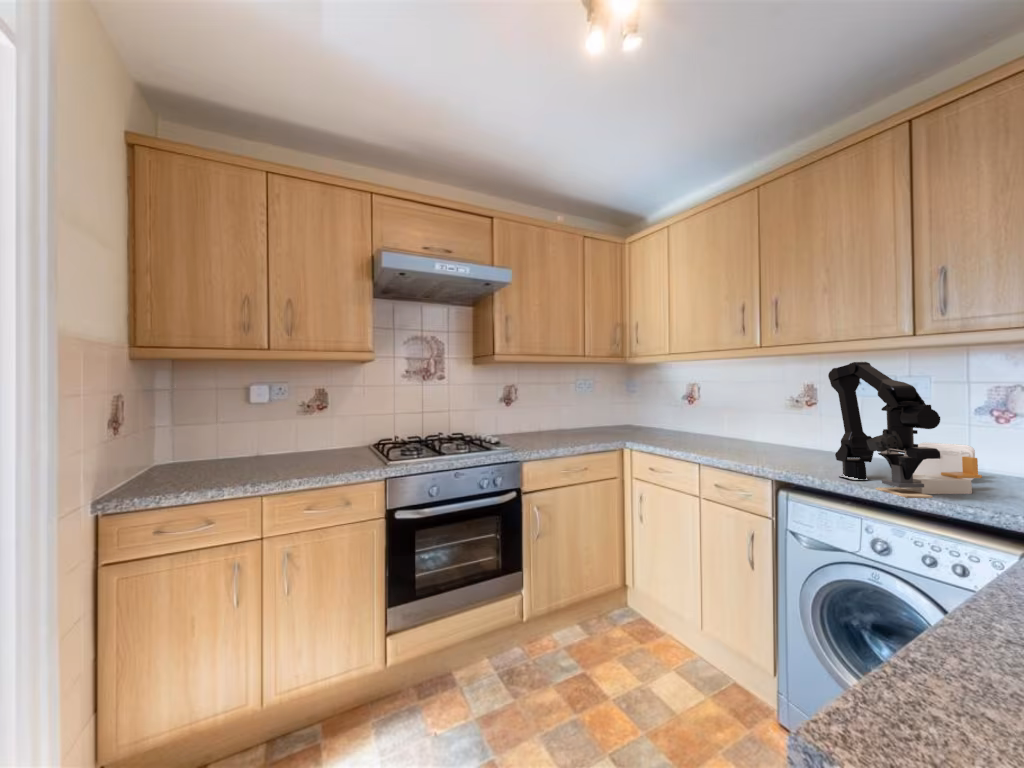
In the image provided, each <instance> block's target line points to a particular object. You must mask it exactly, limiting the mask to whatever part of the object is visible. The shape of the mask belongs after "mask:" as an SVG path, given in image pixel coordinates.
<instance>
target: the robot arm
mask: <svg viewBox="0 0 1024 768" xmlns="http://www.w3.org/2000/svg"><path fill="white" fill-rule="evenodd" d="M828 380H829V382H830V386H831V388H832V389H834V390H835V391H836V393H837V394H838V395H837V396H838V398H839V399H838V400H839V406H840V411H841V418H842V423H843V429H844V434H843V435H842V438H841V439H840V447H839V448H838V450H836V453H834V454H835V460H836V461H839V462H842V475H843V474H844V475H845V476H848V477H854V478H858V479H866V478H867V467H866V463H872V460H873V457H874V452H877V454H878V456H879V455H880V456H881V457H883V458H884V459H885V460H886V461H887V463H888V465H889V467H890V468H891V464H899V460H901V461H902V465H903V474H904V478H905V480H909V479H910V478H911V477H912V475H913V474H914V472H915V470H916V469H917V467H918V466H919V465H920V463H921V462H922V461H923V460H926V459H940V451H939V450H938V449H936V448H928V447H918V444H919V443H915V440H914V439H915V438H914V435H918V430H916V429H921V430H922V429H923V430H933V429H935V428H937V427H938V426H939V425H940V423H941V416H940V415H939V413H938V412H937V411H936V410H935V409H933V408H932V404H926V403H925V401H924V400H923V399H922V397H921V395H920V393H919V392H918V391H917V389H916V387H915V386H913V385H912V384H909V383H907V382H904V381H900V380H895V379H892V378H891V377H889V376H888V375H886V374H884V372H882V371H880V370H879V369H877V368H875V367H874V366H872V365H871V363H870V362H868V361H853V362H850V363H849V364H845V365H843V366H842V365H841V366H838V367H833V368H832V369H830V371H829V373H828ZM861 380H863V382H865V383H867V385H869V386H871V387H872V388H873V389H875V390H876V391H877V396H878V398H879V399H881V401H883V402H884V404H886V405H884V406H883V407H882V408H881V411H885V412H886V428H885V429H884V428H883V430H882V434H881V435H877V436H876V435H875V436H873V437H872V435H867V433H865V432H864V430H863V423H862V419H861V413H860V407H859V402H858V396H857V389H858V387H859V385H860V383H861Z"/></svg>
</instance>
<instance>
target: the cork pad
mask: <svg viewBox="0 0 1024 768" xmlns="http://www.w3.org/2000/svg"><path fill="white" fill-rule="evenodd" d="M875 490H877V491H881V492H885V493H887V494H891V495H894V496H900V497H902V498H905V499H929V498H930V499H933V495H932V494H923V493H919V492H915V491H911V490H907V489H903V488H899V487H893V486H892V487H875Z"/></svg>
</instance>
